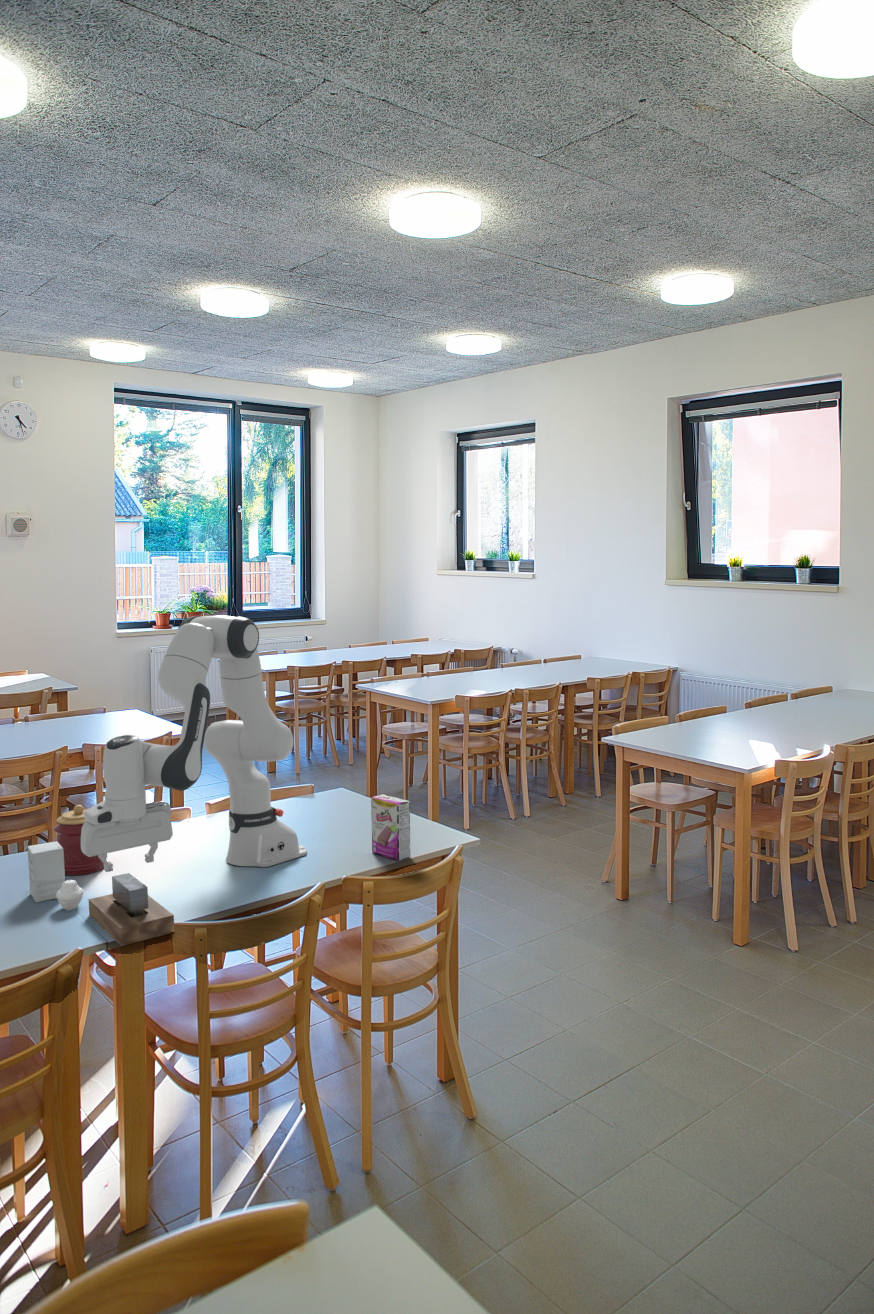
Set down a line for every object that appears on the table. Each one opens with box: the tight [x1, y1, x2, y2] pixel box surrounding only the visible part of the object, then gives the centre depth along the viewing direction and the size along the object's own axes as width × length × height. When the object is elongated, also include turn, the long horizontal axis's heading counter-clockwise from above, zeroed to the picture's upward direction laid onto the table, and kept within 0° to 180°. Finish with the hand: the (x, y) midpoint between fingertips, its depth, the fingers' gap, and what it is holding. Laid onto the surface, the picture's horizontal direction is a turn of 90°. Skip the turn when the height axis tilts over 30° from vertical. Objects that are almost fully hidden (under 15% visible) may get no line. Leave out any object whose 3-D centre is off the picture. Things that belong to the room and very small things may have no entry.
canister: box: [53, 804, 107, 876], centre depth 251 cm, size 13×13×18 cm
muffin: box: [56, 879, 84, 911], centre depth 223 cm, size 6×6×7 cm
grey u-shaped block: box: [111, 872, 149, 918], centre depth 213 cm, size 4×12×10 cm, turn 38°
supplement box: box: [26, 841, 66, 903], centre depth 231 cm, size 7×7×13 cm
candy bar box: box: [370, 793, 411, 862], centre depth 260 cm, size 11×5×16 cm, turn 47°
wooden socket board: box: [88, 893, 175, 947], centre depth 213 cm, size 12×22×4 cm, turn 38°
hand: (129, 866), depth 212 cm, fingers open, 8 cm apart
